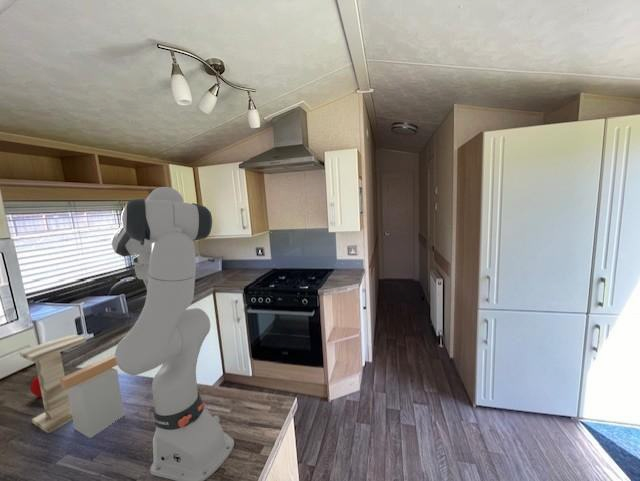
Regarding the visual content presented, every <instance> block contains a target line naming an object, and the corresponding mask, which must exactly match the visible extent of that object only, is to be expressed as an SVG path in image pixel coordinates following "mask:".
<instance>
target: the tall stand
mask: <svg viewBox="0 0 640 481" xmlns="http://www.w3.org/2000/svg"><path fill="white" fill-rule="evenodd" d="M52 340H53V341H50V342H47V343H44V342H43V343H44V344H42V343H40V344H41V345H40V344H38V345H39V346H38V345H36V346H34V347H33V346H32V347H30V348H28V349H24V350H22V351H19V355H20V358H24V359H26V360H27V361H30V362H32V363H34V362H35V368H36V373H37V376H38V378H39V383H40V388H41V393H42V397H41V398H42V404H43V408H44V412H43V413H41V414H38V415H37V416H35V417H33V418H31V422H32V424H34V425H35V426H36V427H38V428H40V429H41V430H43V431H44V432H45V433H46V434H50V433H52V432H54V431H55V430H57V429H59V428H61V427H63V426H65V425H66V424H68V423H69V422H72V421H73V418H72V413H71V407H70V402H69V396H68V391H67V390H65V389H63V388H61V383H60V378H62V377H64V376H66V374H65V369H64V364H63V358H62V353H61V352H63V351H66V350H68V349H71V348H73V347H76V346H79V345H82V344H84V343H86V342H87V338H86V337H84V336H81V335H78V334H73V333H71V334H67V335H64V336H62V337H59V338H56V339H52Z"/></svg>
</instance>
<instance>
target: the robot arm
mask: <svg viewBox="0 0 640 481" xmlns="http://www.w3.org/2000/svg"><path fill="white" fill-rule="evenodd" d="M212 217H213V216H212V212H211V211H210V210H209V209H208V207H206V206H204V205H202V204H197V203H194V202H193V203H190V202H189V203H187V202H184V198H183V196H182V194H181V193H180V192H179V191H178V190H176V189H175V188H173V187H170V186H160V187H157V188H154V189H153V190H152V191H151V192H150V193H149V194H148V196H146V198H137V199H130V200H128V202H127V203H126V204H125V206H124V208H123V210H122V212H121V225H120V227H119V228H118V229H117V230H116V231H114V232H113V234H112V237H111V246H112V249H113V251H114V253H115V254H117V255H119V256H121V257H129V256H133V255H136V256H134V257H133V258H132V262H133V264H134V274H135V277H136V278H137V279H138V280H143V283H144V285H145V288H146V296H145V302H144V305H143V308H142V310H141V312H140V314H139V315H138V318H137V320H136V321H135V323H134V325H133V326H132V328H131V329H130V330H129V331H128V333H127V334H125V335H124V337H122V339H120V340H119V342H118V343H117V345H116V348H115V352H114V354H115V359H116V363H117V365H116V366H117V367H118V368H119V369H120V371H121V372H124V373H125V374H128V375H129V376H138V375H141V374H143V373H146V372H149V371H152V370H154V369H156V368H158V367H160V368H159V370H158V371H157V372H156V374H155V375H154V377H153V380H152V381H151V382H152V383H151V390H152V391H151V392H152V399H153V405H154V408H153V410H152V411H153V415H152V417H153V421H154V424H155V426H156V427H155V431H154V435H153V439H152V457H153V462H152V464H151V465H150V469H149V472H150V475H151V476H156V477H159V478H164V479H168V480H172V481H205V480H207V479H208V478H210V476H212V475H213V474H214V473H215V472H216V471H217V470H218V469H219V468H220V466H222V464H224V462H225V461H226V460H227V458H228V457H230V454H231V453H232V451H233V449H234V446H235V440H234V439H233V438H232V437H231V436H230V435H228V434H227V433H226V432H224V429H223V426H222V425H221V424H220V422H221V419H220V417H219V416H218V415H215V416H213V415H212V413H210V410H209V409H208V408H205V406H206V402H205V401H204V402H203V400H202V396H201V394H200V392H199V391H198V383H197V363H198V358H199V355H200V351H201V349H202V346H203V343H204V340H206V337H207V336H208V335H209V332H210V329H211V320H210V317H209V315H208V314H207V313H206V311H204V310H203V309H201V308H197V307H195V308H189V307H190V306H191V304H192V302H193V300H194V296H195V295H194V294H195V286H196V284H195V282H196V270H197V269H196V268H197V257H196V256H197V255H196V247H195V242H194V241H201V240H204V239H207V238H208V237H209V236H210V235H211V231H212V228H213V218H212ZM188 308H189V309H188Z"/></svg>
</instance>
